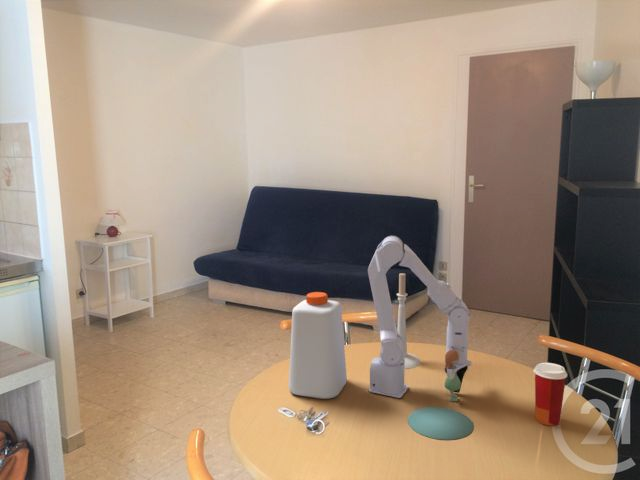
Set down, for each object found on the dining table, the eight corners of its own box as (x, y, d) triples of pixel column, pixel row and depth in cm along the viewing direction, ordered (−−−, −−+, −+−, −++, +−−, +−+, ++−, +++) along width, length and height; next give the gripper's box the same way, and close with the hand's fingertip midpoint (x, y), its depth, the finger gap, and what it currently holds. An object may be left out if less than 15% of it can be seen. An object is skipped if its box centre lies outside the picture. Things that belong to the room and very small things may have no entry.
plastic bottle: (335, 402, 144) (334, 303, 139) (284, 395, 148) (281, 299, 144) (350, 380, 158) (349, 289, 153) (303, 374, 162) (301, 286, 158)
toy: (462, 414, 138) (463, 363, 133) (445, 413, 139) (445, 362, 134) (459, 386, 150) (460, 338, 146) (444, 385, 151) (444, 338, 147)
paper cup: (562, 415, 135) (565, 363, 133) (565, 430, 128) (569, 375, 126) (529, 410, 138) (532, 360, 135) (531, 425, 130) (534, 371, 128)
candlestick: (425, 358, 174) (427, 269, 169) (415, 373, 162) (417, 278, 157) (387, 353, 179) (388, 266, 174) (376, 366, 167) (376, 275, 162)
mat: (399, 430, 129) (399, 429, 129) (418, 403, 143) (418, 402, 143) (465, 446, 121) (465, 445, 121) (478, 415, 136) (478, 414, 135)
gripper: (466, 356, 137) (464, 405, 139) (476, 338, 150) (475, 383, 152) (439, 352, 140) (438, 399, 142) (451, 335, 153) (450, 379, 155)
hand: (455, 391), depth 147 cm, fingers closed
